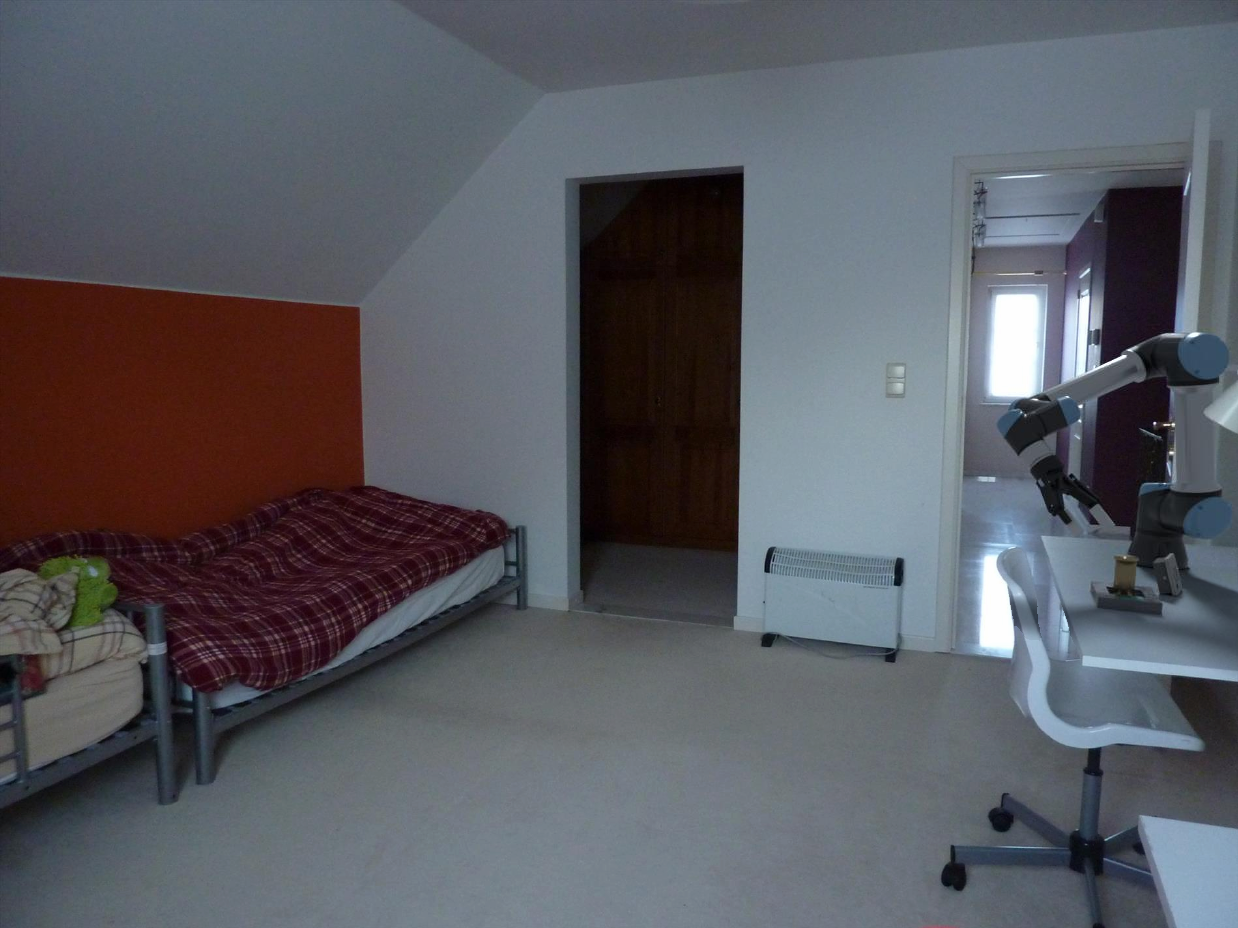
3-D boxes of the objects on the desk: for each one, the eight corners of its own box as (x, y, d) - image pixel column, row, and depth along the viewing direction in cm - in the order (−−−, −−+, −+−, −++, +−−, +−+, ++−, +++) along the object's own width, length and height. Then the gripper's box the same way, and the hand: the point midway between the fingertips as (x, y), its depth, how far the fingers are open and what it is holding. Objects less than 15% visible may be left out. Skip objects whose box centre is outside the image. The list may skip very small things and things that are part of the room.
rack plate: (1090, 590, 227) (1091, 580, 227) (1150, 597, 222) (1151, 586, 222) (1097, 607, 212) (1098, 595, 212) (1161, 614, 208) (1162, 602, 207)
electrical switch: (1176, 597, 223) (1176, 559, 222) (1152, 595, 226) (1151, 558, 226) (1182, 590, 230) (1182, 553, 230) (1158, 588, 234) (1158, 552, 233)
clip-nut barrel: (1120, 598, 220) (1124, 553, 219) (1140, 604, 216) (1144, 558, 214) (1105, 600, 218) (1108, 555, 217) (1124, 606, 214) (1128, 560, 212)
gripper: (1059, 468, 242) (1111, 534, 231) (1002, 474, 228) (1054, 545, 218) (1080, 450, 237) (1134, 517, 226) (1023, 456, 223) (1078, 527, 213)
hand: (1095, 531), depth 222 cm, fingers open, 13 cm apart
